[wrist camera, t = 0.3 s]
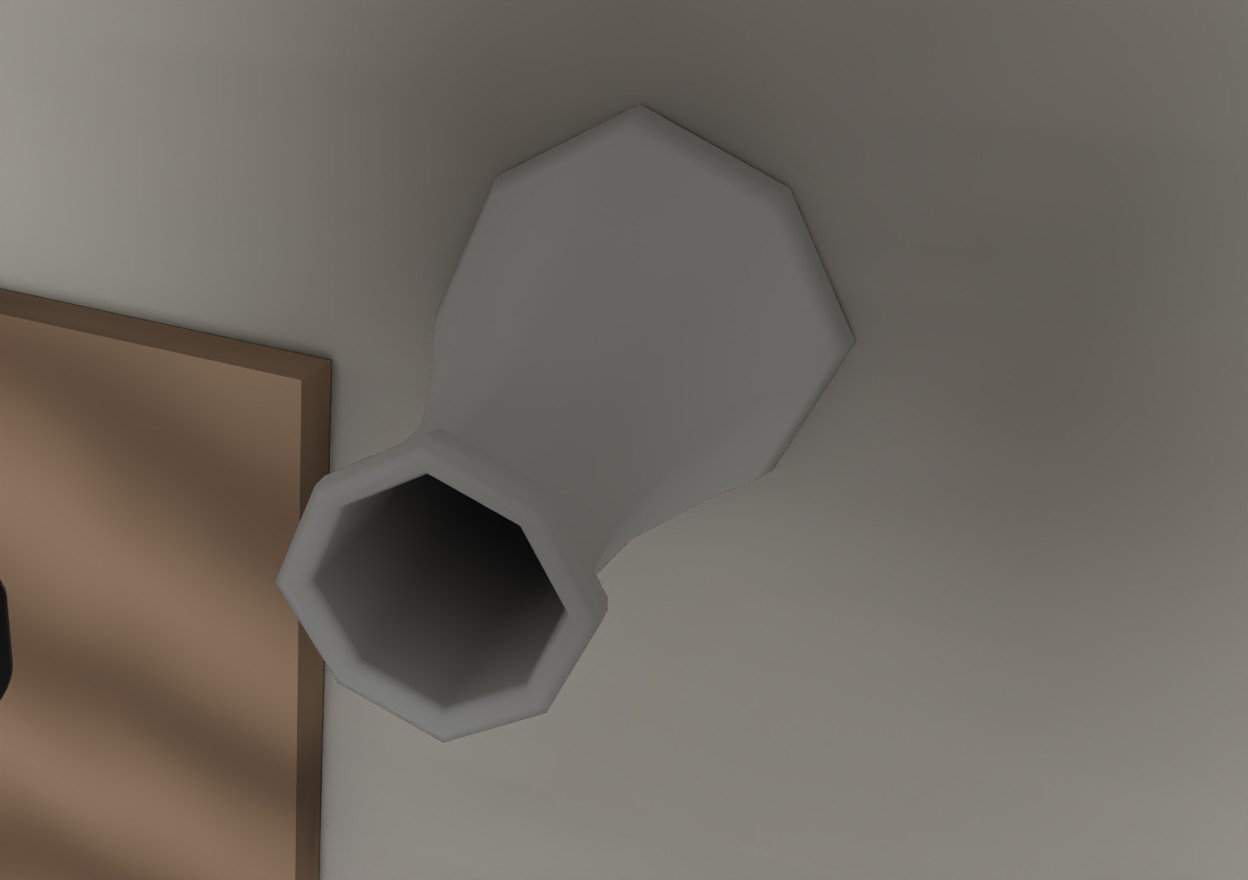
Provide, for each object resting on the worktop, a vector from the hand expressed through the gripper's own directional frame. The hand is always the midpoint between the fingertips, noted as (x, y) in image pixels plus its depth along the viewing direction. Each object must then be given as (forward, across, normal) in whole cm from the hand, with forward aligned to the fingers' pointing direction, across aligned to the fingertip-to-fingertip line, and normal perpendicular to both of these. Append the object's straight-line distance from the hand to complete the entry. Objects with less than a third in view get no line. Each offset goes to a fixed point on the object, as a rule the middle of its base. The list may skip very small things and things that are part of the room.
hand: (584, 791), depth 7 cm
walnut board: (+13, +14, +12) cm, 22 cm away
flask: (+13, +2, +1) cm, 13 cm away
